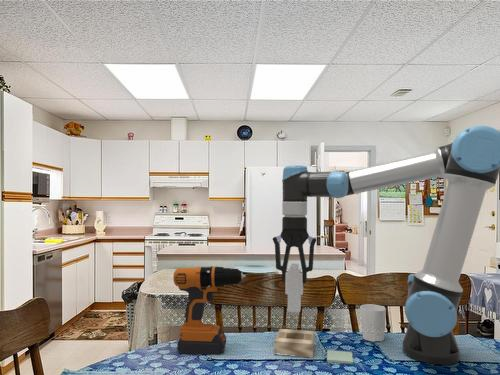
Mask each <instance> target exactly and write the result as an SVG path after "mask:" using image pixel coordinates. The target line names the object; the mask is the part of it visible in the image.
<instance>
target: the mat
mask: <svg viewBox="0 0 500 375" xmlns="http://www.w3.org/2000/svg"><path fill="white" fill-rule="evenodd" d="M326 362H327V363H336V364H348V365H354V359H353V352H352V351H343V350H332V349H327V352H326Z"/></svg>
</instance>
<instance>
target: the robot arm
mask: <svg viewBox="0 0 500 375" xmlns="http://www.w3.org/2000/svg"><path fill="white" fill-rule="evenodd" d="M282 170H283V171H282V179H281V180H282V181H281V182H282V205H281V206H282V209H281V210H282V215H283V216H282V219H281V220H282V221H281V222H282V224H281V227H282V228H281V233H280V235H277V236H274V237H272V241H273V245H274V250H275V251H274V256H275V257H274V258H275V269H276V270H279V271H281V282H282V283H285V289H284V290H285V291H284V292H285V294H284V295H288V264H289V258H290V254H291V249H292V248H294V247H295V248H297V250H298V254H299V255H298V256H299V260H300V266H301V272H300V295H301V296H303V294H304V284H307V282H308V278H307V277H308V273H309V272H312V271H313V269H314V257H315V254H314V252H315V244H316V242H317V238H316V237H312V236H310V235H309V233H308V218H307V217H306V216H307V215H308V197H309V198H310V197H311V198H313V197H314V198H317V197H318V198H334V199H341V198H344V197H347V196H352V195H356V194H360V193H365V192H366V193H367V192H371V191H376V190H381V189H385V188H386V189H387V188H391V187H396V186H400V185H406V184H410V183H411V184H412V183H415V182H421V181H424V180H426V181H427V180H431V179H436V178H441V179H444V180H447V187H446V189H445V193H444V195H443V196H444V197H443V200H442V203H441V206H440V211H439V213H438V216H437V220H436V224H435V228H434V230H433V233H432V237H431V241H430V244H429V247H428V250H427V254H426V257H425V261H424V265H423V268H422V269H421V270H420V271H418V272H415V273H410V274H409V275H408V277H407V281H406V284H407V298H406V301H405V304H404V314H405V317H406V320H407V323H408V325H407V328H406V332H405V334H404V337H403V340H402V352H403V351H404V352H405V353H406V354H407V355H409V356H410V357H409V356H408V357H409V358H411V357H412V358H411V359H413V358H414V360H415V361H419V362H422V363H427V364H431V365H432V364H433V365H453V364H456V363H458V362H460V360H461V351H460V348H459V345H458V341H457V339H456V337H455V334H454V331H453V329H454V328H455V326H456V324H457V322H458V313H457V312H458V308H459V305H460V301H461V298H462V295H463V291H464V289H463V287H462V286H461V284H460V282H459V281H460V279H461V278H460V277H461V274H462V271H463V267H464V265H465V261H466V257H467V255H468V251H469V248H470V245H471V241H472V238H473V236H474V232H475V228H476V224H477V221H478V218H479V215H480V212H481V208H482V205H483V201H484V198H485V196H486V192H487V191H488V190H490V189H491V188H493V187H496V184H497V180H498V178H499V174H500V131H499V130H498V129H496V128H495V127H492V126H487V125H476V126H470V127H468V128H465V129H464V130H462V131H461V132H459V133H458V134H457V135H456V136H455V137H454V139H453V141H452V142H451V143H449V144H445V145H442V146H438V147H436V149H435V150H434V151H432V152H427V153H423V154H418V155H414V156H411V157H410V156H409V157H405V158H401V159H396V160H392V161H389V162H384V163H379V164H375V165H371V166H367V167H363V168H359V169H354V170H350V171H346V172H345V171H338V170H332V171H315V172H314V171H313V172H312V171H309V170H308V167H307V165H302V164H301V165H298V164H297V165H286V166H284V167H283V169H282ZM307 240H308V244H309V250H308V251H309V253H308V266H307V262H306V258H305V251H304V244H305V242H307ZM282 241H283V242H284V243H285V245H286V246H285V251H284V257H283V262H282V260H281V259H282V258H281V242H282ZM404 352H403V353H404ZM405 353H404V354H405ZM406 354H405V355H406ZM407 355H406V356H407Z"/></svg>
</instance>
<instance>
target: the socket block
mask: <svg viewBox="0 0 500 375" xmlns="http://www.w3.org/2000/svg"><path fill="white" fill-rule="evenodd" d="M315 336H316V335H315V331H314V330H303V329H288V328H279V329H278V332H277V333H276V336H275V338H274V341H273V342H274V344H273V345H274V346H273V347H274V348H273V350H274V352H273V353H280V354H287V355H295V356H302V357H301V358H303V357H309V358H308V359H313V358H314V352H313V351H315V345H314V343H315V340H316V339H315ZM315 344H316V343H315Z"/></svg>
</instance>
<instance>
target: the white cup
mask: <svg viewBox="0 0 500 375" xmlns="http://www.w3.org/2000/svg"><path fill="white" fill-rule="evenodd" d="M359 307H360V321H361V324H360V325H361V332H362V339H364V340H366V341H367V342H373V343H374V342H375V341H380V342H382V341H381V340H383V339H384V340H385V331H386V315H387V314H386V311H387V310H386V309H387V308H386V307H385V306H383V305H380V304H379V305H378V304H371V303H370V304H362V305H360V306H359ZM384 340H383V341H384ZM375 343H376V342H375Z"/></svg>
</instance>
